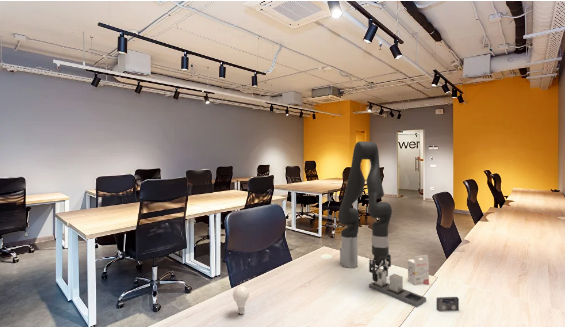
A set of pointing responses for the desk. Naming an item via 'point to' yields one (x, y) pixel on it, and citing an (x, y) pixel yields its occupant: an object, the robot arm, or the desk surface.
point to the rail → (401, 295)
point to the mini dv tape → (447, 303)
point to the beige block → (396, 284)
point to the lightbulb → (241, 298)
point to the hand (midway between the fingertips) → (380, 278)
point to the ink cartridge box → (418, 270)
